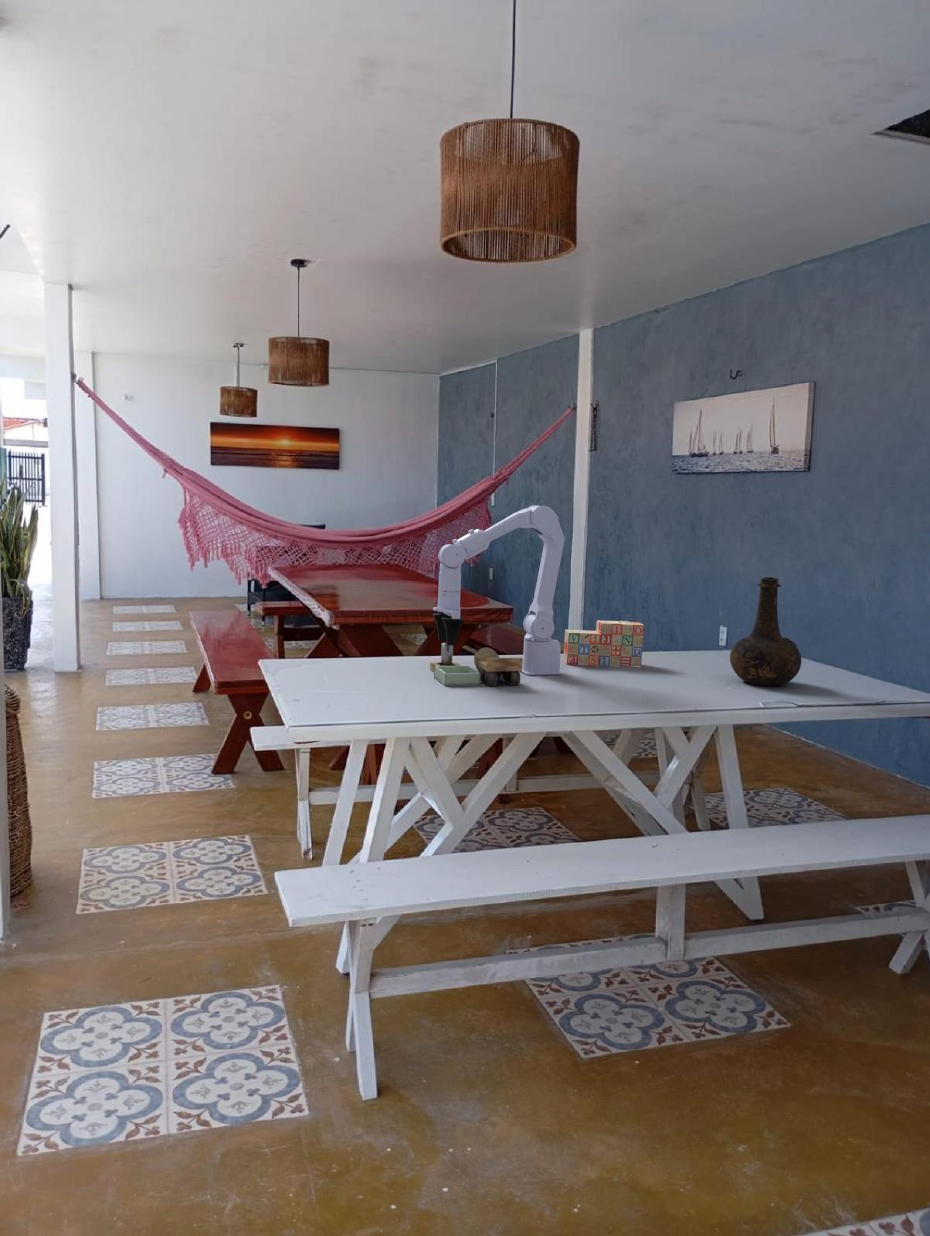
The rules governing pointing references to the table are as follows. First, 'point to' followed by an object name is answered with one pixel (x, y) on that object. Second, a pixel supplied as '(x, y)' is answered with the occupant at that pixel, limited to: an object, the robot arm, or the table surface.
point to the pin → (446, 654)
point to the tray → (457, 675)
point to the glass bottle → (766, 645)
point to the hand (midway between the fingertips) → (447, 642)
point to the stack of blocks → (605, 645)
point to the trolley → (501, 664)
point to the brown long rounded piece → (485, 658)
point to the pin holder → (440, 665)
